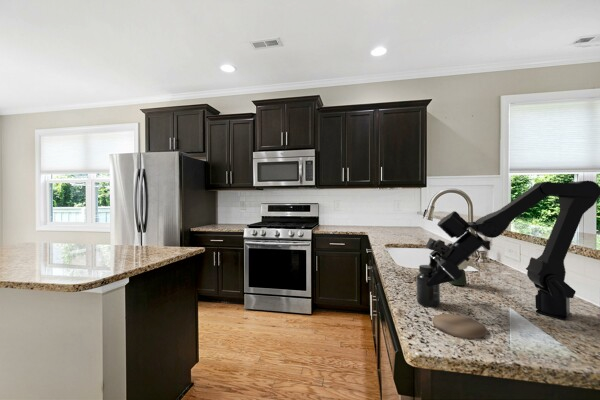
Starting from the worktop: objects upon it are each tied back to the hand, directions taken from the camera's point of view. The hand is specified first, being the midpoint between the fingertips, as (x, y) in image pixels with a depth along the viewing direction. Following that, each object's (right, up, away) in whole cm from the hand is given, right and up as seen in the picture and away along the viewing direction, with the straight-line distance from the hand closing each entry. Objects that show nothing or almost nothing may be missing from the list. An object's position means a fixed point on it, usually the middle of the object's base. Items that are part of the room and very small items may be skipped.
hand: (424, 281), depth 88 cm
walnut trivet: (+1, -7, -17) cm, 18 cm away
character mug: (+22, -7, +19) cm, 30 cm away
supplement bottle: (+1, -7, 0) cm, 7 cm away
